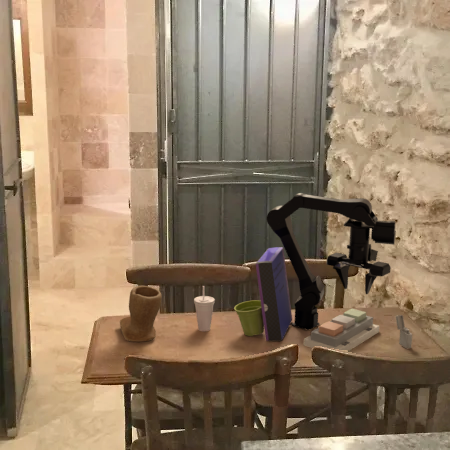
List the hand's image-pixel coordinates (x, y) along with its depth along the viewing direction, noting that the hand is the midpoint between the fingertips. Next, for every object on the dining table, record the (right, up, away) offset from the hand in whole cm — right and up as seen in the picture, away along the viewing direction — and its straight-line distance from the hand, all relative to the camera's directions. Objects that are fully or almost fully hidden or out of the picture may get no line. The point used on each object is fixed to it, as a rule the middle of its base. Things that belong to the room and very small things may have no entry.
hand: (356, 291), depth 200 cm
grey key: (-5, -10, -3) cm, 12 cm away
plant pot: (-31, -13, 0) cm, 33 cm away
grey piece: (-5, -14, -2) cm, 15 cm away
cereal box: (-23, -12, +3) cm, 26 cm away
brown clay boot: (-65, -13, -1) cm, 66 cm away
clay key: (-9, -11, -8) cm, 17 cm away
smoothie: (-46, -12, +4) cm, 48 cm away
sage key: (0, -9, +2) cm, 9 cm away
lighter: (+13, -15, -5) cm, 20 cm away
